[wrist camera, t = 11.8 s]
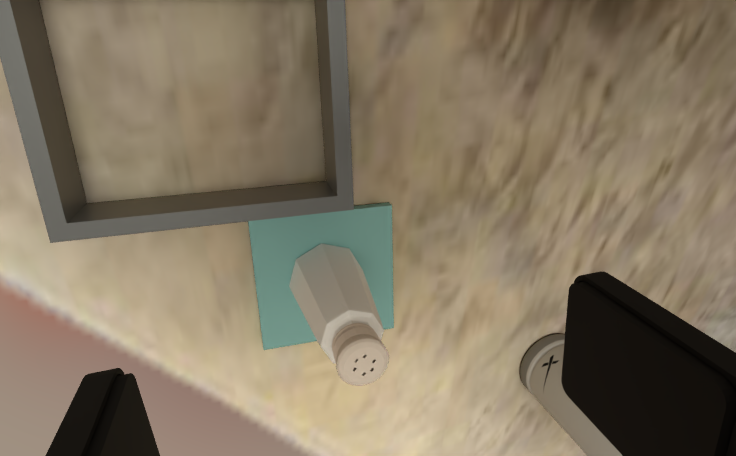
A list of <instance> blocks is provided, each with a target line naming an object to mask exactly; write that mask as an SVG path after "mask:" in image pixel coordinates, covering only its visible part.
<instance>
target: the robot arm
mask: <svg viewBox="0 0 736 456" xmlns="http://www.w3.org/2000/svg"><path fill="white" fill-rule="evenodd" d="M561 382H562V387H563V389H564V391H565V393H566V395H567V396H568V397H569V398H570V399H571V400H572V402H573V403H574V404H575V405H576V406H577V407H578V408H579V409H580V410H581V411H582V412H583V413H584V414H585V416H586V417H587V418H588V419H589V420H590V421H591V422H592V423H593V424H594V425H595V426H596V427H597V429H598V430H599V431H600V432H601V433H602V434H603V435H604V436H605V437H606V438H607V439H608V440H609V441H610V443H611V444H612V445H613V446H614V447H615V448H616V449H617V450H618V451H619V452H620V453H621V454H622V456H736V353H735V352H733V351H732V350H730V349H729V348H727V347H725V346H724V345H722V344H721V343H719V342H717V341H716V340H714V339H713V338H711V337H709V336H708V335H706V334H705V333H703V332H701V331H700V330H698V329H696V328H695V327H693V326H692V325H690V324H688V323H687V322H685V321H684V320H682V319H680V318H679V317H677V316H676V315H674V314H672V313H671V312H669V311H668V310H666V309H664V308H663V307H661V306H660V305H658V304H656V303H655V302H653V301H651V300H650V299H648V298H647V297H645V296H643V295H642V294H640V293H639V292H637V291H635V290H634V289H632V288H631V287H629V286H627V285H626V284H624V283H623V282H621V281H619V280H618V279H616V278H615V277H613V276H611V275H610V274H608V273H606V272H596V273H591V274H586V275H581V276H578V277H577V278H576V279H575V281H574V284H572V285H571V286H570V288H569V295H568V306H567V318H566V330H565V341H564V353H563V365H562V376H561ZM46 456H160V454H159V451H158V448H157V445H156V442H155V438H154V435H153V432H152V429H151V426H150V423H149V420H148V416H147V413H146V410H145V407H144V404H143V401H142V398H141V394H140V391H139V388H138V385H137V382H136V379H135V377H134V375H133V374H131V373H130V374H125V375H124V372H123V371H122V370H121V369H120V368H116V369H111V370H106V371H101V372H96V373H91V374H88V375H85V377H84V378H83V380H82V382H81V384H80V386H79V388H78V390H77V392H76V394H75V397H74V398H73V400H72V402H71V405H70V407H69V409H68V411H67V413H66V415H65V417H64V419H63V421H62V423H61V425H60V427H59V429H58V431H57V433H56V436H55V437H54V440H53V442H52V444H51V446H50V448H49V450H48V452H47V454H46Z"/></svg>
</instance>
